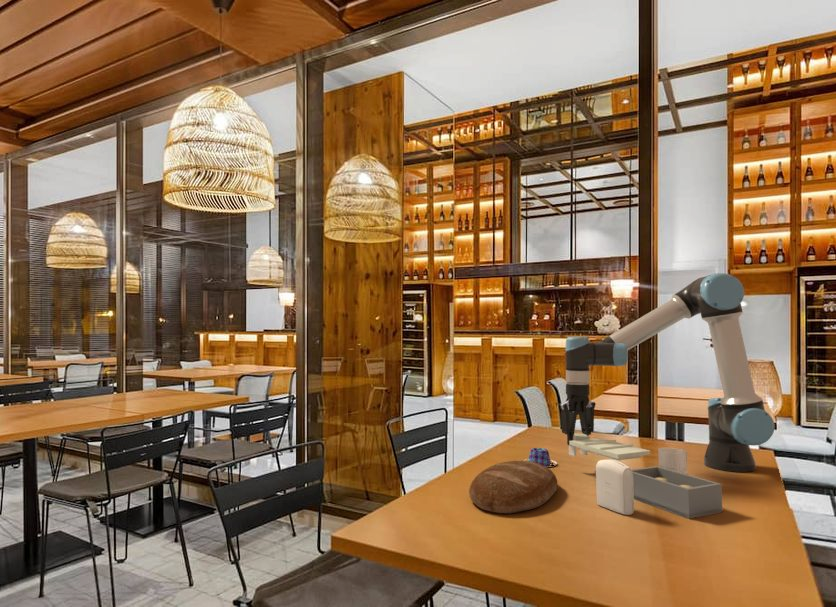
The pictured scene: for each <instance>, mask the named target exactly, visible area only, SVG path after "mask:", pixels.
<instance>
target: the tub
mask: <svg viewBox="0 0 836 607" xmlns="http://www.w3.org/2000/svg"><path fill="white" fill-rule="evenodd" d="M631 470H632V472H633V490H634V501H635V500H636V501H639V502H641V503H643V504H647V505H650V506H652V507H655V508H658V509H661V510H664V511H666V512H669V513H672V514H674V515H677V516H680V517H683V518H686V519H689V520H691V519H696V518H700V516H701V517H705V516H710V515H714V514H715V515H716V514H719V513H723V494H722V492H723V491H722V489H723V488H722V487H723V486H722V483H720V482H715V481H712V480H709V479H705V478H702V477H699V476H698V477H697V476H694V475H690V474H684V473H680V472H676V471H673V470H669V469H666V468H662V467H659V466H658V465H656V466H650V467H641V468H635V469H634V468H633V469H631ZM695 517H696V518H695ZM690 518H691V519H690Z"/></svg>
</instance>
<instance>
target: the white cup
mask: <svg viewBox="0 0 836 607" xmlns="http://www.w3.org/2000/svg"><path fill="white" fill-rule="evenodd" d="M657 450H658V454H657V455H658V464H659V466H658V467H662V468H666V469H669V470H673V471H676V472H680V473H684V474H687V472H688V471H687V470H688V469H687V468H688V451H687V450H685V449H682V448H677V447H660V448H659V447H658V449H657ZM687 475H688V474H687Z"/></svg>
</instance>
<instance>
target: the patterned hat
mask: <svg viewBox="0 0 836 607" xmlns="http://www.w3.org/2000/svg"><path fill="white" fill-rule="evenodd" d="M527 459H528V461H532V462H535V463H539V464H541V465H543V466H545V467H546V466H547V468H550V467H552V466H551V465H550V464H551V461H552V462H554V463H555V465H554V466H556V465H558V462H557V461H555V460H553V459H551V457H550V452H549V450H548V449H546V448H542V447H532V448H531V449H530V451H529V455H528V458H527ZM527 459H524V460H527ZM548 465H549V466H548ZM554 466H553V467H554Z"/></svg>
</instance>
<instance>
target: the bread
mask: <svg viewBox="0 0 836 607" xmlns="http://www.w3.org/2000/svg"><path fill="white" fill-rule="evenodd" d="M557 490H558V478H557V476H556V474H555V473H554V472H553V471H552V469H550V468H549V467H548V466H547V467H546V466H543V465H541V464H539V463H535V462H532V461H525V459H523V460H508V461H502V462H499V463H496V464H494V465H490V466H489V467H487V468H485V469H484V470H482V471H481V472H479V473H478V474H477V475H476V476H475V477H474V478H473V480H472V482H471V484H470V486H469V489H468V494H469V498H470V501H472V503H474V505H476V506H477V507H478V508H480V509H482V510H483V511H486V512H490V513H495V514H504V515H505V514H513V513H520V512H525V511H529V510H533V509H537V508H538V507H541V506H542V505H544V504H545V503H547V502H548V501H549V500H550V499H551V497H552V496H553V495H554V494H555V492H556V491H557Z"/></svg>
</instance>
